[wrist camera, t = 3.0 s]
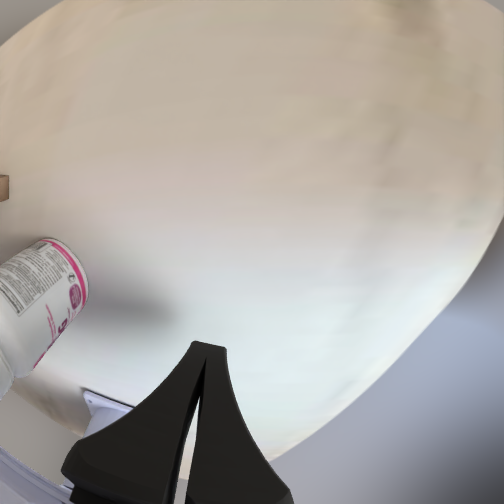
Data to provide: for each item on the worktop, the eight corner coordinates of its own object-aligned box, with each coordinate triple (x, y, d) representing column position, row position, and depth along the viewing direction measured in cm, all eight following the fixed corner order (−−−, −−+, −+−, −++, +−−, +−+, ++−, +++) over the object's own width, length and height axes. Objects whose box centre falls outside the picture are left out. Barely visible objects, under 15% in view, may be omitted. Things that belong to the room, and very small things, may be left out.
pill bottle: (83, 323, 14) (12, 423, 6) (30, 282, 13) (-50, 359, 5) (99, 265, 12) (-6, 376, 5) (39, 221, 12) (-73, 291, 4)
